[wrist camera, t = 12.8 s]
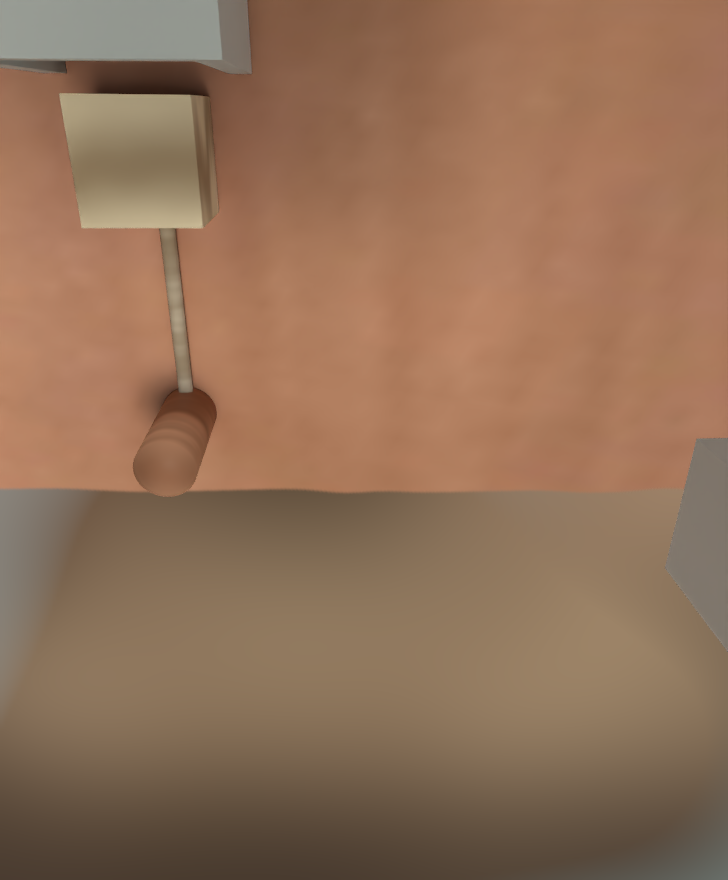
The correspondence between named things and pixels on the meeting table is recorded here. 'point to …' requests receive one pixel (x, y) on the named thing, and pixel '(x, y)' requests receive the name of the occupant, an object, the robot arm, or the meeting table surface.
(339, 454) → the meeting table surface
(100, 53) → the box
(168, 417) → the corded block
